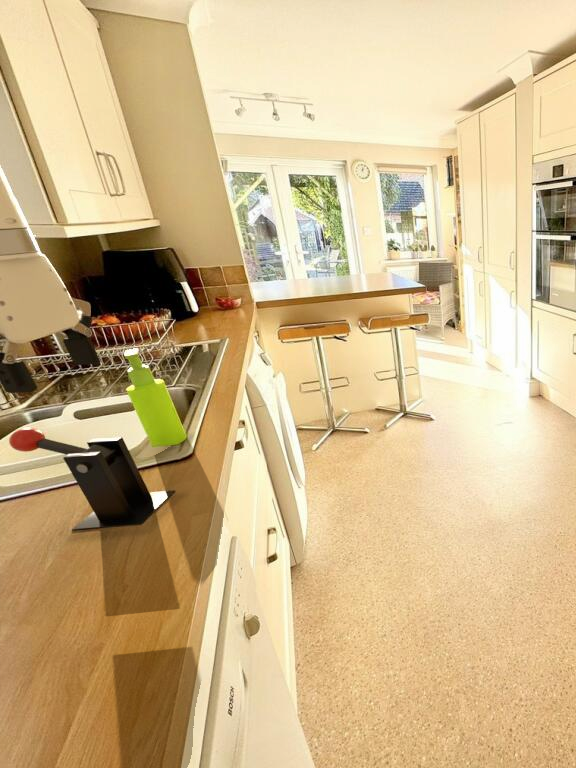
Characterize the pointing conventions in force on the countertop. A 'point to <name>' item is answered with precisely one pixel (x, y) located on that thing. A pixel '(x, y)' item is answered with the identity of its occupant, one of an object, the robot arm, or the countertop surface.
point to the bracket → (113, 487)
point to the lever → (53, 444)
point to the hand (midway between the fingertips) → (57, 376)
